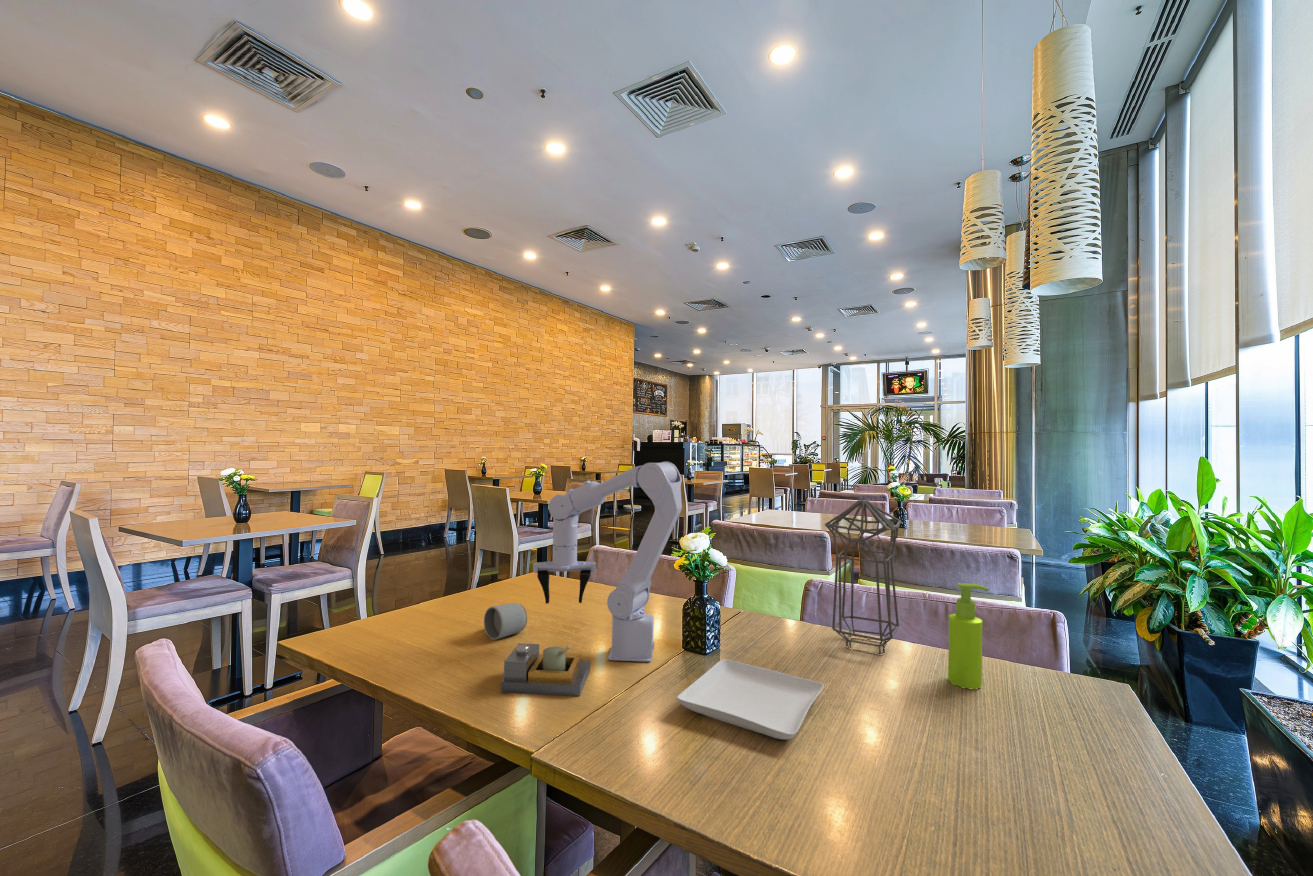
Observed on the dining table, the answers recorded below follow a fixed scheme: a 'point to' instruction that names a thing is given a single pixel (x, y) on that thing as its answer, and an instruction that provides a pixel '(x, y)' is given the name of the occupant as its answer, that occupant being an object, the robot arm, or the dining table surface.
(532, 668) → the assembly fixture
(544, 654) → the spout can
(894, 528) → the geometric lantern
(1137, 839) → the dining table surface
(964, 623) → the soap dispenser
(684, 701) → the salad plate
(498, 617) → the grey hollow cylinder
